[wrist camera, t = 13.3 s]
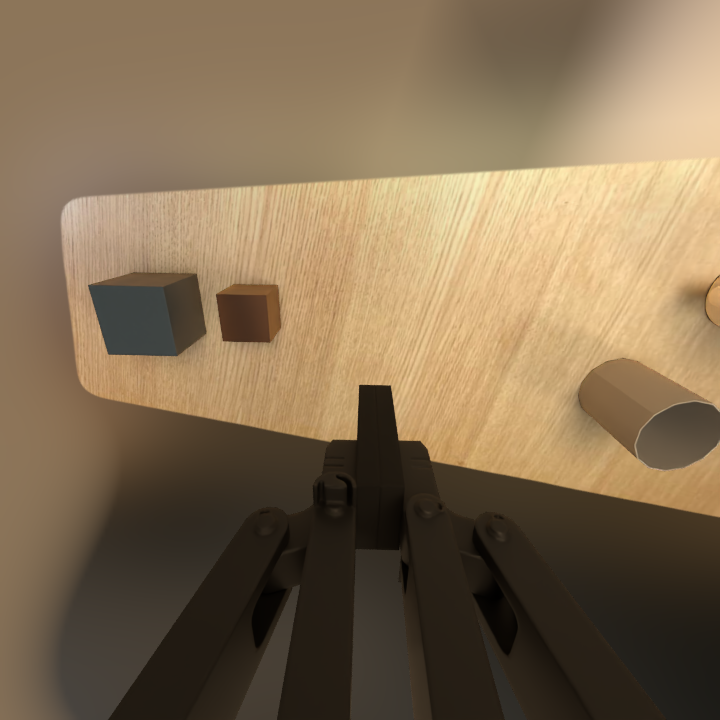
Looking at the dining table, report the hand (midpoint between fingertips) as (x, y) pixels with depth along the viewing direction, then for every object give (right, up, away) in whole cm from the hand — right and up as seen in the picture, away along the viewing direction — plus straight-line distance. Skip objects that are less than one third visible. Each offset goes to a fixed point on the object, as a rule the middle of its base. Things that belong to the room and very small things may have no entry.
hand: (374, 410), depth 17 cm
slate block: (-22, +9, +23) cm, 33 cm away
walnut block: (-12, +9, +23) cm, 28 cm away
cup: (+31, -1, +27) cm, 41 cm away
